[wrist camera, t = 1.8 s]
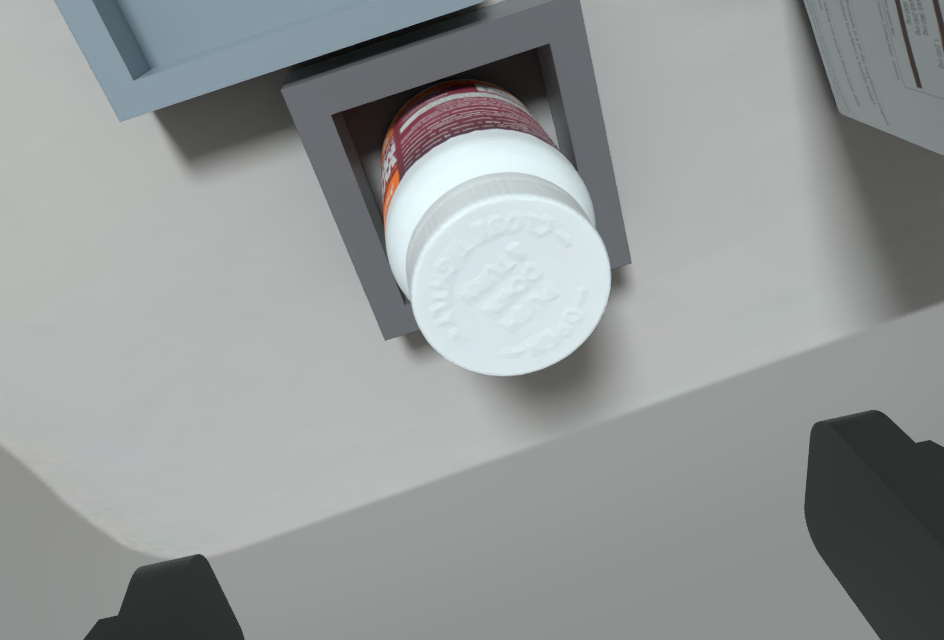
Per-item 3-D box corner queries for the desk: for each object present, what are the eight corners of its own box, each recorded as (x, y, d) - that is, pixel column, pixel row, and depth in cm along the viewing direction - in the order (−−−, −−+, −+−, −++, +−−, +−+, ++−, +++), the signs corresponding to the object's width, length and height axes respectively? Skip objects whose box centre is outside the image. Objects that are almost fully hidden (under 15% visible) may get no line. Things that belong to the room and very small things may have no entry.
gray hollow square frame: (556, -17, 25) (578, -9, 23) (609, 232, 30) (631, 263, 28) (289, 71, 26) (280, 90, 23) (383, 304, 31) (385, 340, 28)
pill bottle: (352, 117, 27) (341, 236, 17) (508, 46, 26) (589, 129, 17) (421, 256, 30) (445, 426, 20) (562, 196, 29) (658, 341, 20)
